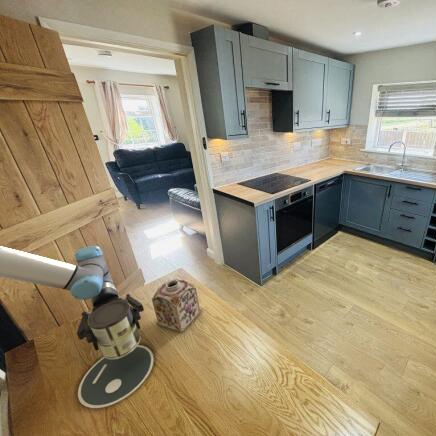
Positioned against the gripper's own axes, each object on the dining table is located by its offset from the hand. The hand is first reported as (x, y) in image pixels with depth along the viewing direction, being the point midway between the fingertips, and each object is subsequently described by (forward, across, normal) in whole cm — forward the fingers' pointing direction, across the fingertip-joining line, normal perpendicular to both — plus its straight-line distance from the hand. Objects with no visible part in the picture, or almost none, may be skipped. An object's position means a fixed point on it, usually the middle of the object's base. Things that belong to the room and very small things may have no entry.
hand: (118, 335), depth 71 cm
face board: (-2, +3, -16) cm, 17 cm away
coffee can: (-4, 0, -8) cm, 9 cm away
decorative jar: (-11, -20, -16) cm, 28 cm away
